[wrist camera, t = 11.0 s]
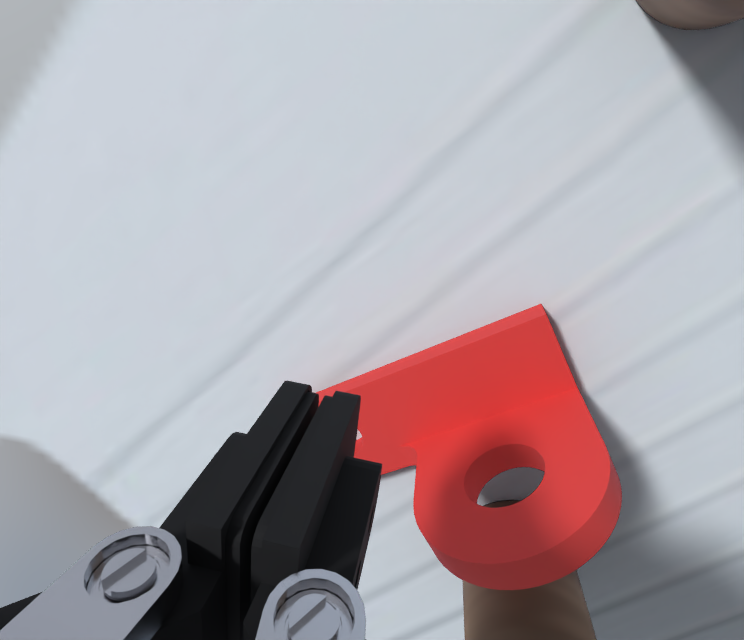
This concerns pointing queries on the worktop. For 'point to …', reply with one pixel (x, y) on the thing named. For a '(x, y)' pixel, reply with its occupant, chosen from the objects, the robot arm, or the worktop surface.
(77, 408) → the worktop surface
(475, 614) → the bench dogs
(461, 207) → the worktop surface
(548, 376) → the bracket
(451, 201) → the worktop surface
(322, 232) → the worktop surface
